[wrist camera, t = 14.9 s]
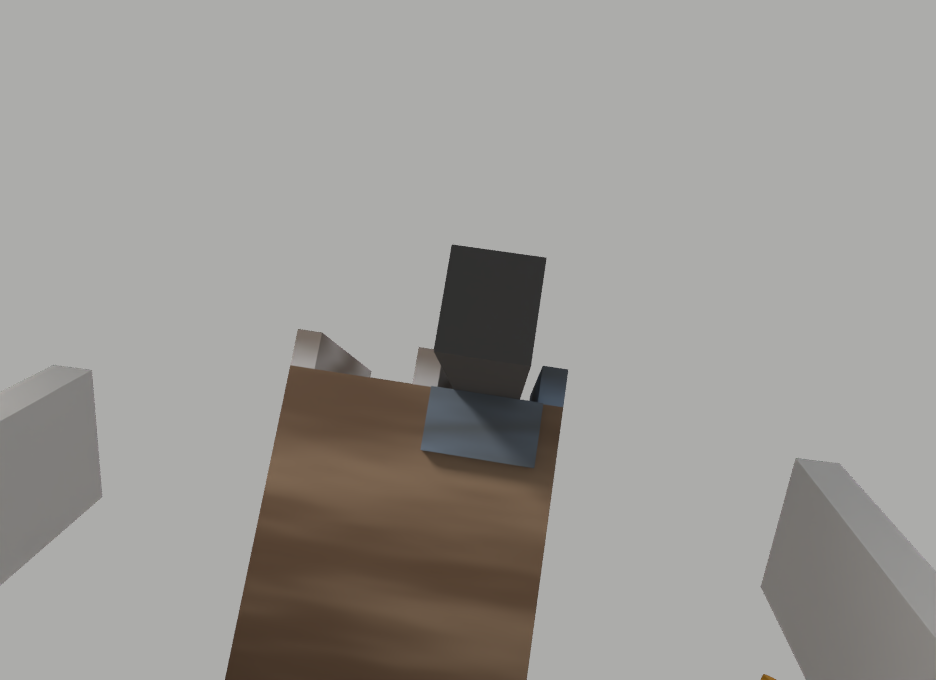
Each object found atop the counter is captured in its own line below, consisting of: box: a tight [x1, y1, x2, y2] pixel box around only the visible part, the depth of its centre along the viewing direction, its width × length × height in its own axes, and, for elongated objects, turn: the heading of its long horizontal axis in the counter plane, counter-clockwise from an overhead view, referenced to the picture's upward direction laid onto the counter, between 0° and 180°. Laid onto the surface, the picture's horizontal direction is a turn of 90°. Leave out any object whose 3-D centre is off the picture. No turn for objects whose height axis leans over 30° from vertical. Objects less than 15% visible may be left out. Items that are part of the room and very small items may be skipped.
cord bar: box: [434, 245, 546, 399], centre depth 29 cm, size 21×3×3 cm, turn 177°
